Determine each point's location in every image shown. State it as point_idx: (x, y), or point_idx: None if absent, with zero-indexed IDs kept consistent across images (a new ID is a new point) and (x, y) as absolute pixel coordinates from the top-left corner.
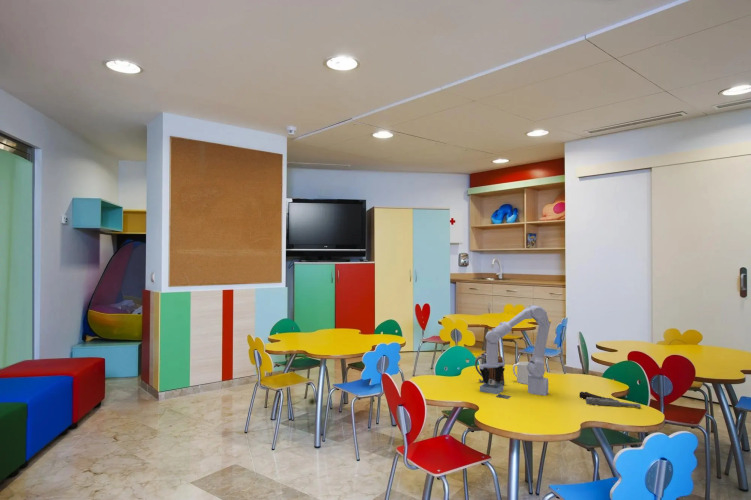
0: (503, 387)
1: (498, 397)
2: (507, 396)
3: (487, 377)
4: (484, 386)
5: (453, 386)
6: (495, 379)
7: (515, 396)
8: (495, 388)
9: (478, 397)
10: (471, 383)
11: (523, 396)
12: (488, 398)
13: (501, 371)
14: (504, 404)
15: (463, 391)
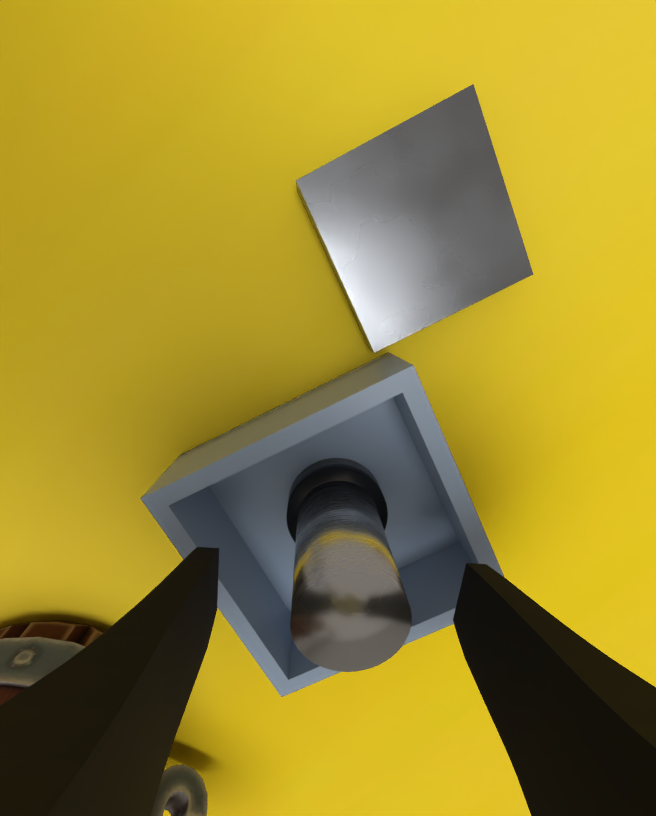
0: (160, 479)
1: (518, 233)
2: (366, 199)
3: (570, 647)
4: None
5: (495, 785)
6: None
7: (173, 233)
8: (422, 410)
9: (622, 425)
10: (262, 802)
11: (56, 170)
12: (563, 341)
13: (54, 756)
14: (634, 4)
15: None
